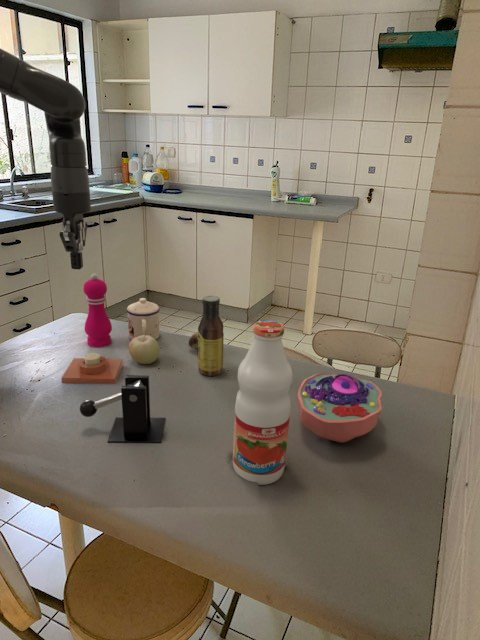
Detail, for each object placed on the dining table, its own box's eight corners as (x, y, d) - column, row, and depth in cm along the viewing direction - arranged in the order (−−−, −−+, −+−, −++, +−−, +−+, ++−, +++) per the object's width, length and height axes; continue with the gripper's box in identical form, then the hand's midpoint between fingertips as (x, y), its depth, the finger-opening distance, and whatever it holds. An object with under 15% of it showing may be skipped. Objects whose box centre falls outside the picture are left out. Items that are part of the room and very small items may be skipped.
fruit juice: (279, 451, 88) (292, 314, 78) (288, 486, 80) (304, 337, 69) (230, 452, 87) (236, 314, 77) (234, 487, 79) (241, 337, 68)
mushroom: (213, 349, 120) (209, 326, 122) (186, 356, 123) (182, 334, 124) (224, 352, 128) (220, 330, 129) (198, 358, 130) (194, 337, 131)
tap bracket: (107, 446, 87) (103, 392, 83) (116, 422, 95) (112, 371, 90) (161, 447, 88) (159, 393, 83) (165, 422, 95) (164, 371, 91)
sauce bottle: (204, 363, 120) (205, 291, 112) (226, 368, 118) (229, 295, 110) (193, 374, 114) (193, 299, 107) (216, 380, 112) (218, 303, 105)
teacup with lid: (128, 331, 137) (126, 294, 133) (159, 329, 139) (158, 293, 134) (127, 348, 126) (125, 308, 122) (161, 347, 128) (160, 307, 124)
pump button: (83, 366, 108) (82, 359, 108) (86, 359, 112) (86, 352, 111) (98, 366, 109) (98, 359, 108) (102, 359, 112) (101, 352, 111)
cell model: (274, 435, 93) (278, 386, 88) (321, 395, 108) (326, 352, 103) (352, 472, 83) (361, 419, 79) (392, 423, 98) (401, 376, 94)
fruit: (159, 354, 124) (159, 327, 121) (159, 367, 117) (158, 339, 114) (130, 355, 123) (129, 327, 120) (128, 368, 116) (126, 339, 113)
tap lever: (83, 422, 88) (74, 409, 87) (87, 413, 91) (79, 400, 89) (145, 398, 86) (137, 385, 85) (147, 389, 89) (139, 376, 88)
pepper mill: (80, 343, 128) (73, 273, 121) (101, 335, 134) (96, 268, 126) (97, 350, 124) (91, 279, 117) (118, 341, 130) (114, 273, 122)
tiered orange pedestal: (62, 386, 107) (60, 371, 105) (74, 366, 116) (72, 351, 114) (114, 386, 107) (113, 371, 106) (122, 366, 117) (122, 352, 115)
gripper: (62, 184, 103) (69, 260, 110) (41, 191, 91) (50, 276, 97) (96, 186, 104) (101, 261, 110) (80, 193, 91) (86, 277, 98)
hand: (77, 268), depth 104 cm, fingers closed
